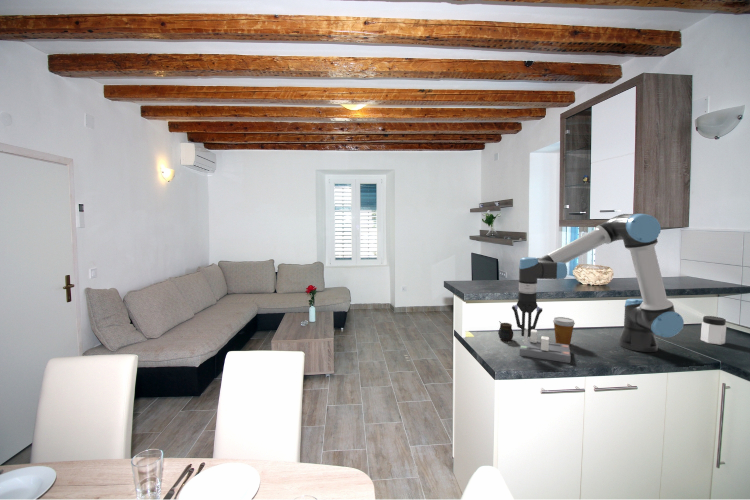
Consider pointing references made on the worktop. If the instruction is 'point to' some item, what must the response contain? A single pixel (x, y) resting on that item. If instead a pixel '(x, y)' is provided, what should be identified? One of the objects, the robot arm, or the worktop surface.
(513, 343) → the worktop surface
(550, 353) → the panel
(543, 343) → the block
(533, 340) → the block
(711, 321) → the jar
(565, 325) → the disposable coffee cup
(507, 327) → the mate gourd
